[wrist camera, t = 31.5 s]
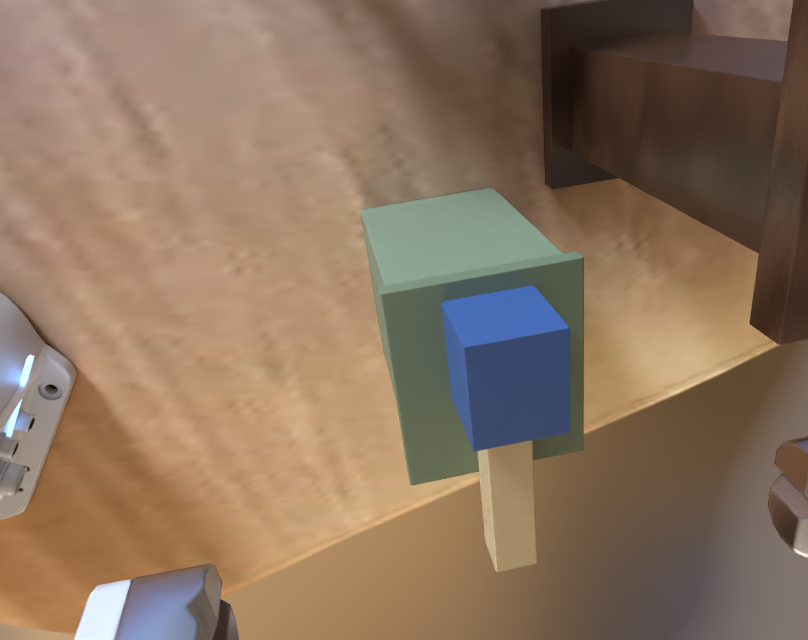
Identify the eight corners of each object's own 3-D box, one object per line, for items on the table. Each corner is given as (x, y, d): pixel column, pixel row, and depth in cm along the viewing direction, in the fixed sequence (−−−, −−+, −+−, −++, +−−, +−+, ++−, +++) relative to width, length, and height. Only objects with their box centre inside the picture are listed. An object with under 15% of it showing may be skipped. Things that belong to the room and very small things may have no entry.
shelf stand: (670, 169, 49) (977, 306, 27) (545, 191, 49) (756, 350, 26) (682, -21, 43) (1088, -44, 21) (539, 0, 43) (806, -1, 20)
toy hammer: (541, 529, 42) (571, 591, 37) (466, 544, 41) (487, 610, 37) (534, 284, 34) (570, 327, 29) (441, 301, 33) (463, 347, 29)
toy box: (506, 331, 54) (583, 450, 39) (379, 355, 53) (410, 486, 38) (497, 180, 48) (584, 256, 33) (353, 205, 47) (380, 293, 33)
